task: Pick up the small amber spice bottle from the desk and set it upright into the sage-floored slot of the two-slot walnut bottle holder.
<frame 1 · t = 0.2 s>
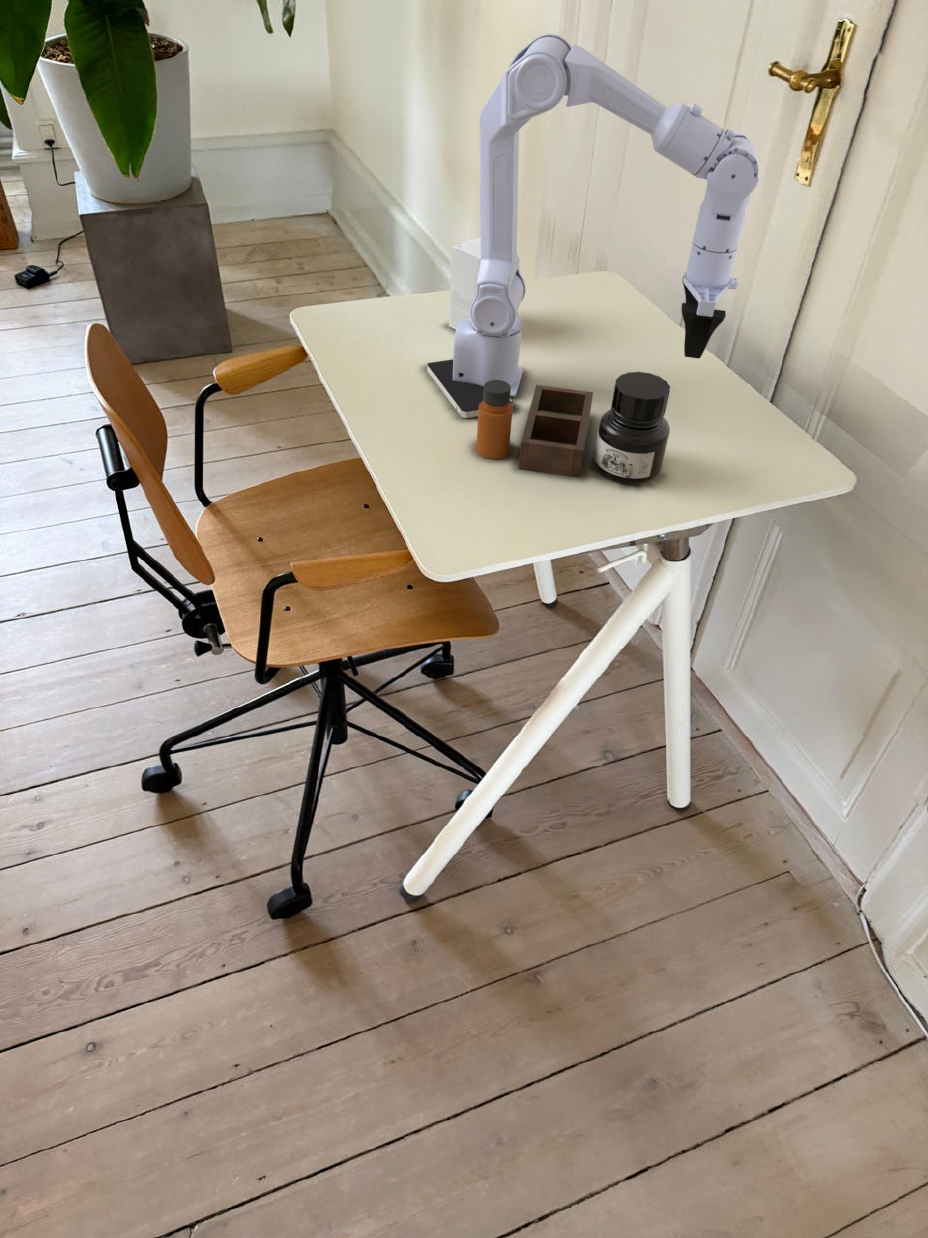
hand: (692, 343, 127), 10 cm above the table, tool pointing down, fingers open, 7 cm apart
holder: (555, 442, 126), on the table
small box: (479, 327, 150), on the table
smartphone: (468, 390, 136), on the table, touching arm
spice bottle: (492, 449, 124), on the table
ink bottle: (626, 467, 123), on the table
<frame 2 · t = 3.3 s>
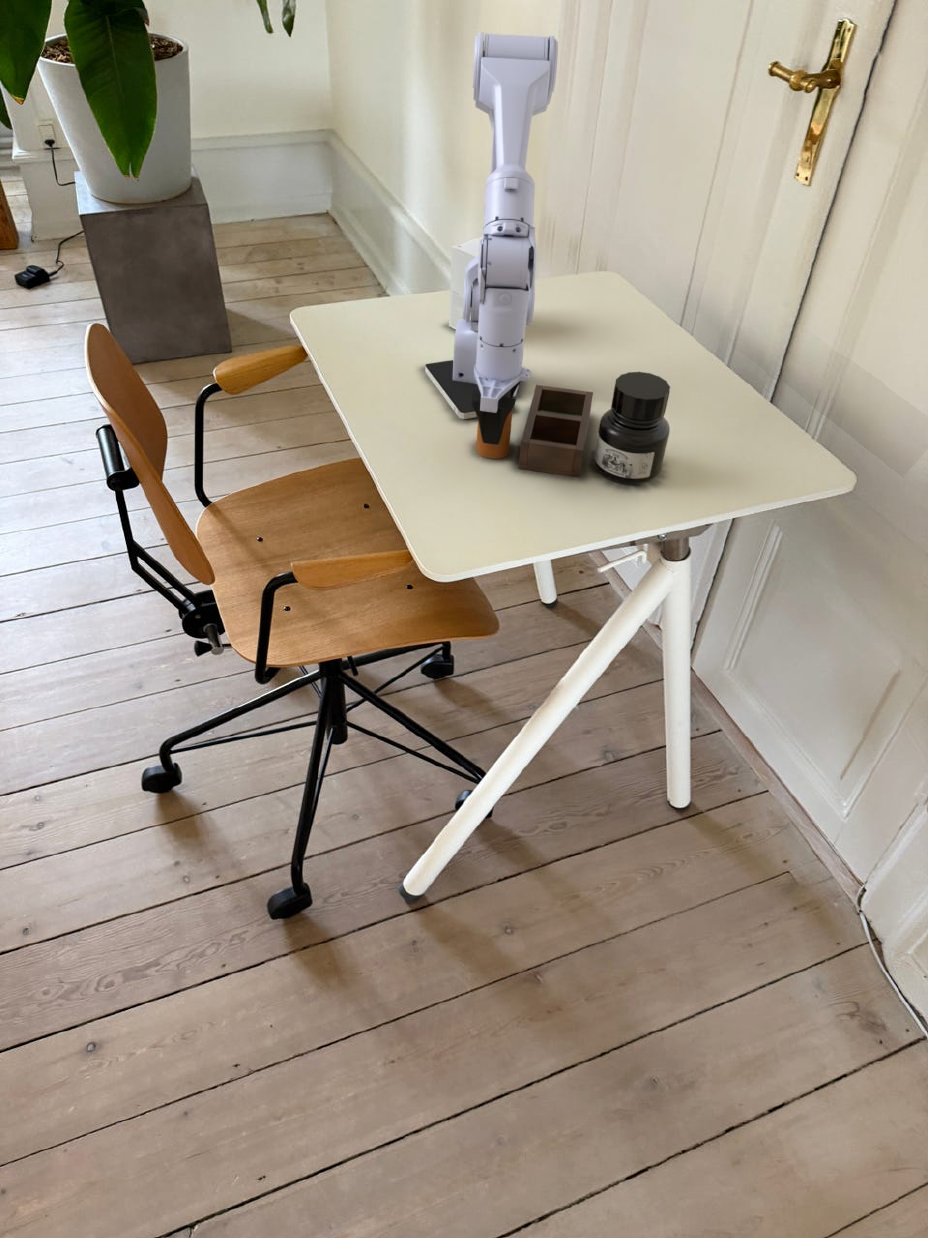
hand: (493, 432, 122), 3 cm above the table, tool pointing down, fingers closed on spice bottle, 4 cm apart
spice bottle: (492, 449, 124), on the table, touching gripper
everything else where it was.
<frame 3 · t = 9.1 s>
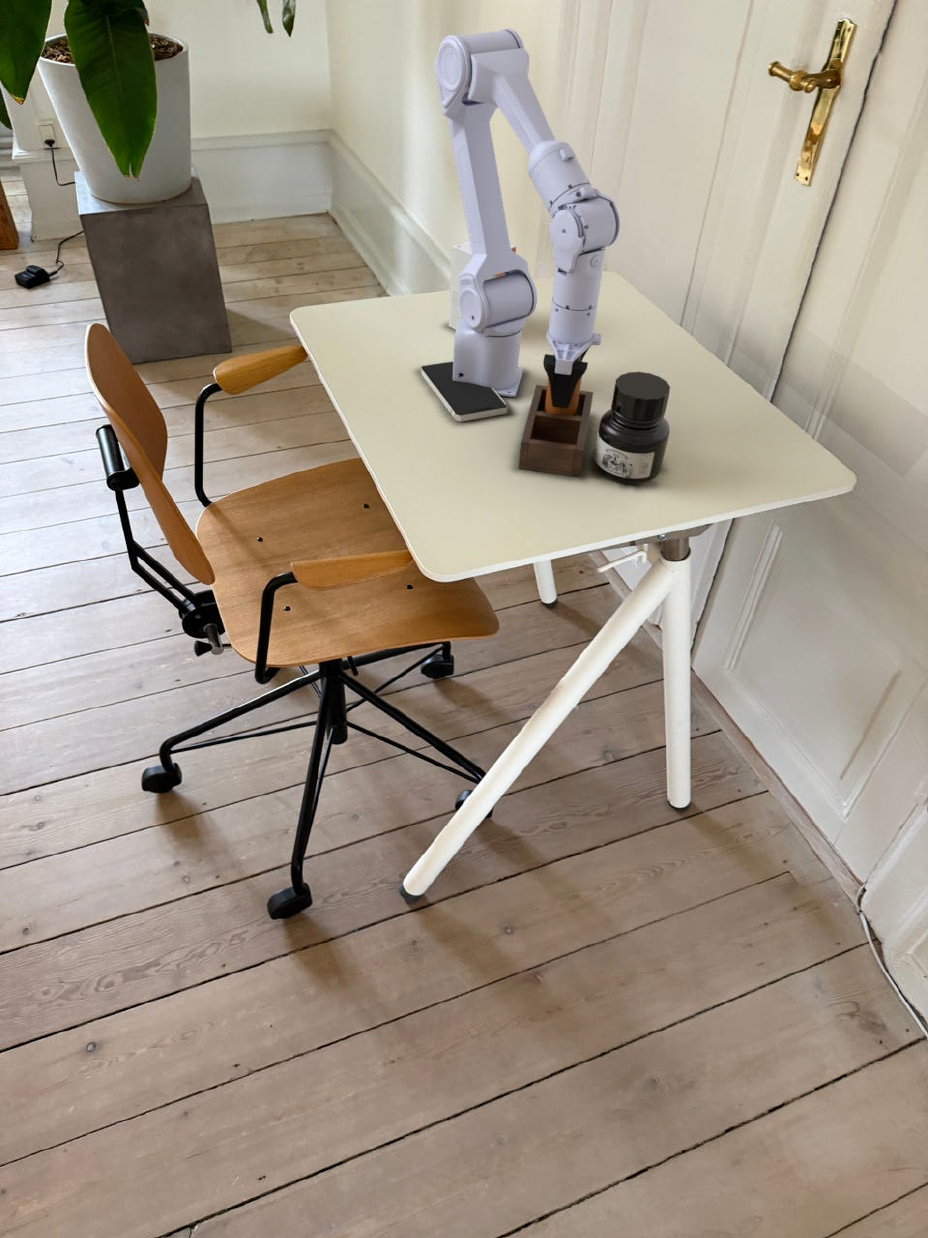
hand: (562, 397, 125), 5 cm above the table, tool pointing down, fingers closed on spice bottle, 4 cm apart
spice bottle: (560, 414, 127), point 2 cm above the table, touching gripper
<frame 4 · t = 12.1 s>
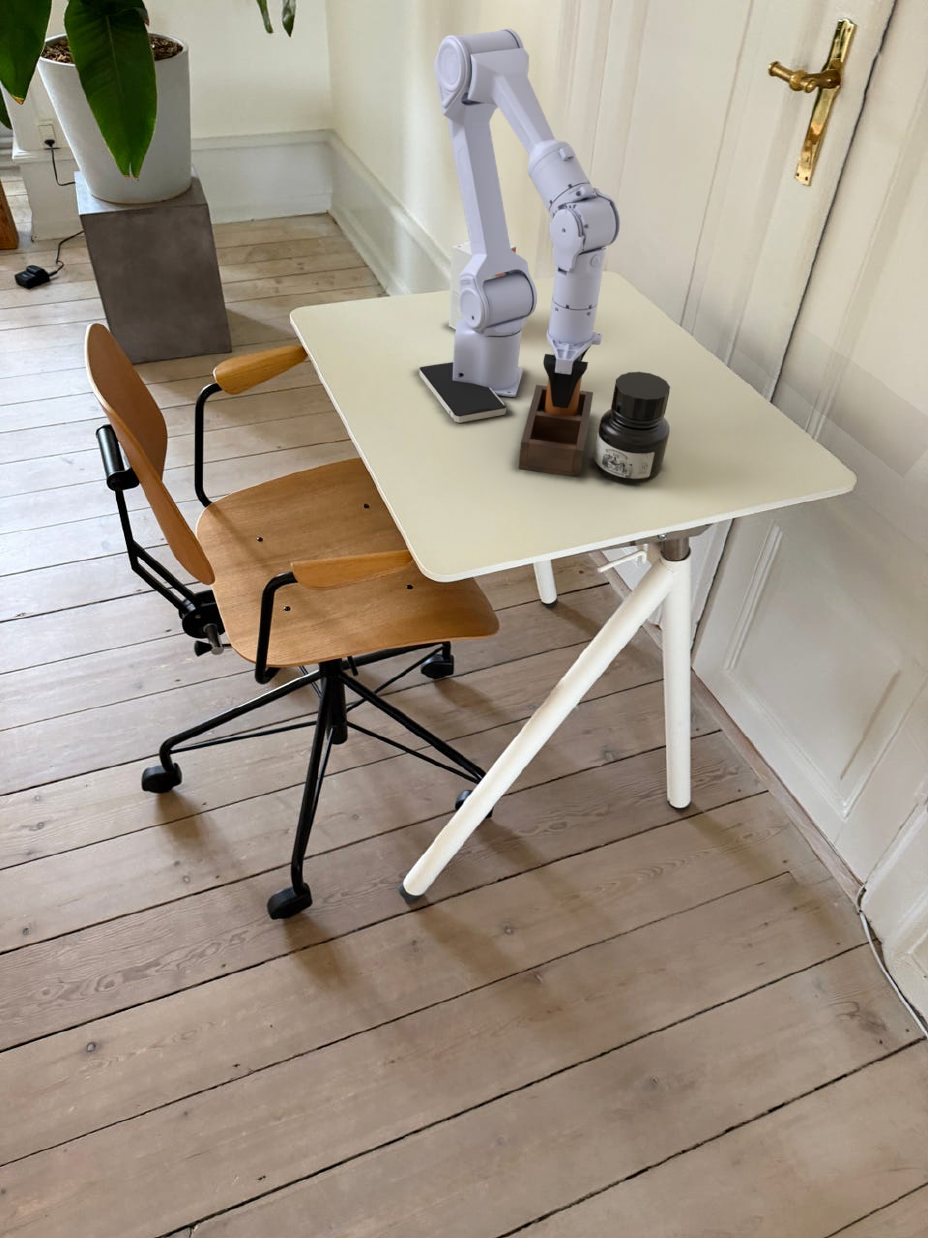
hand: (562, 396, 125), 5 cm above the table, tool pointing down, fingers closed on spice bottle, 4 cm apart
spice bottle: (560, 414, 127), point 2 cm above the table, touching gripper
when the fingers open (5 cm above the table, at t = 14.9 s): spice bottle drops 1 cm, resting on holder.
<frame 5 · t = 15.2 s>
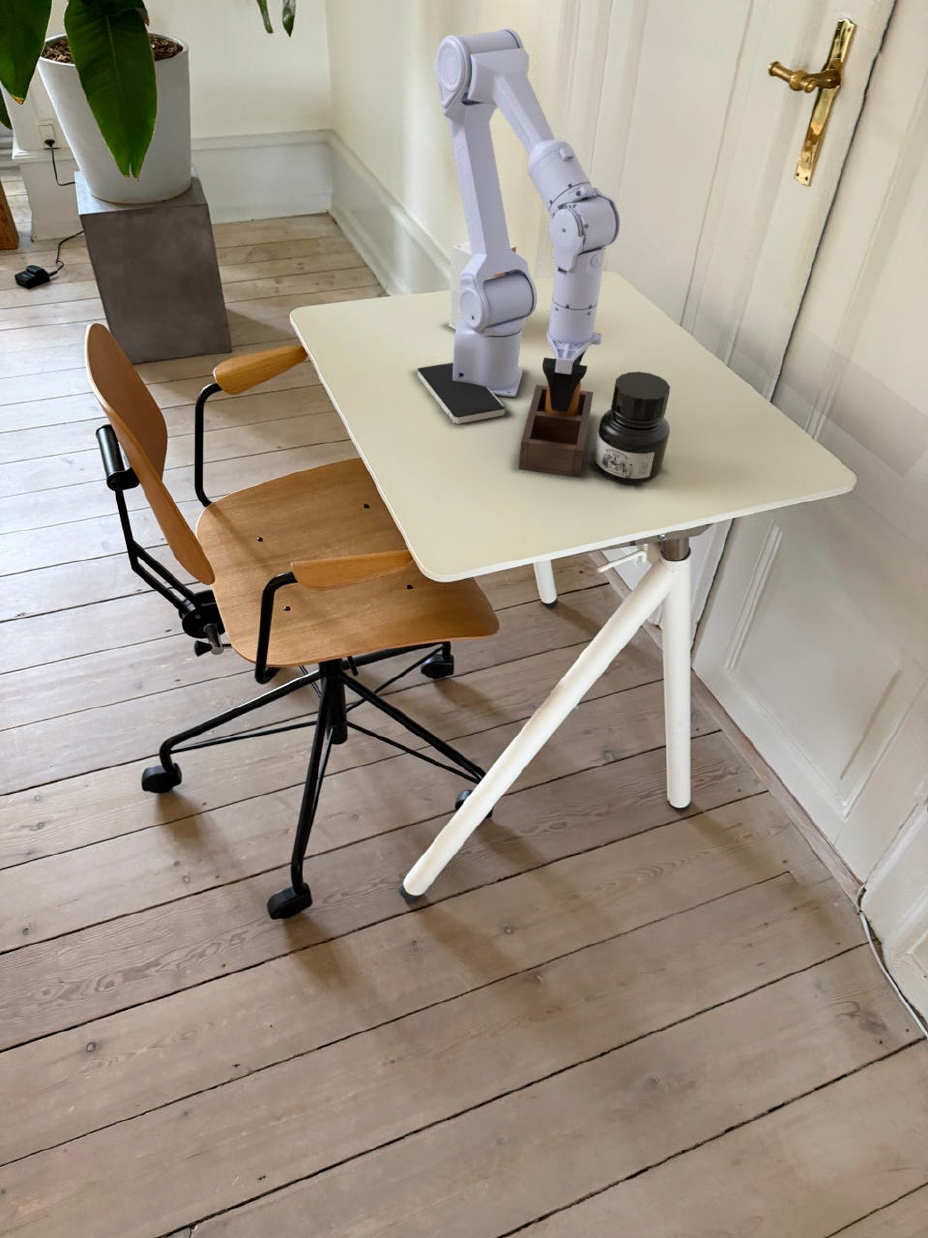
hand: (562, 396, 125), 5 cm above the table, tool pointing down, fingers open, 6 cm apart
spice bottle: (559, 423, 128), point 1 cm above the table, touching holder
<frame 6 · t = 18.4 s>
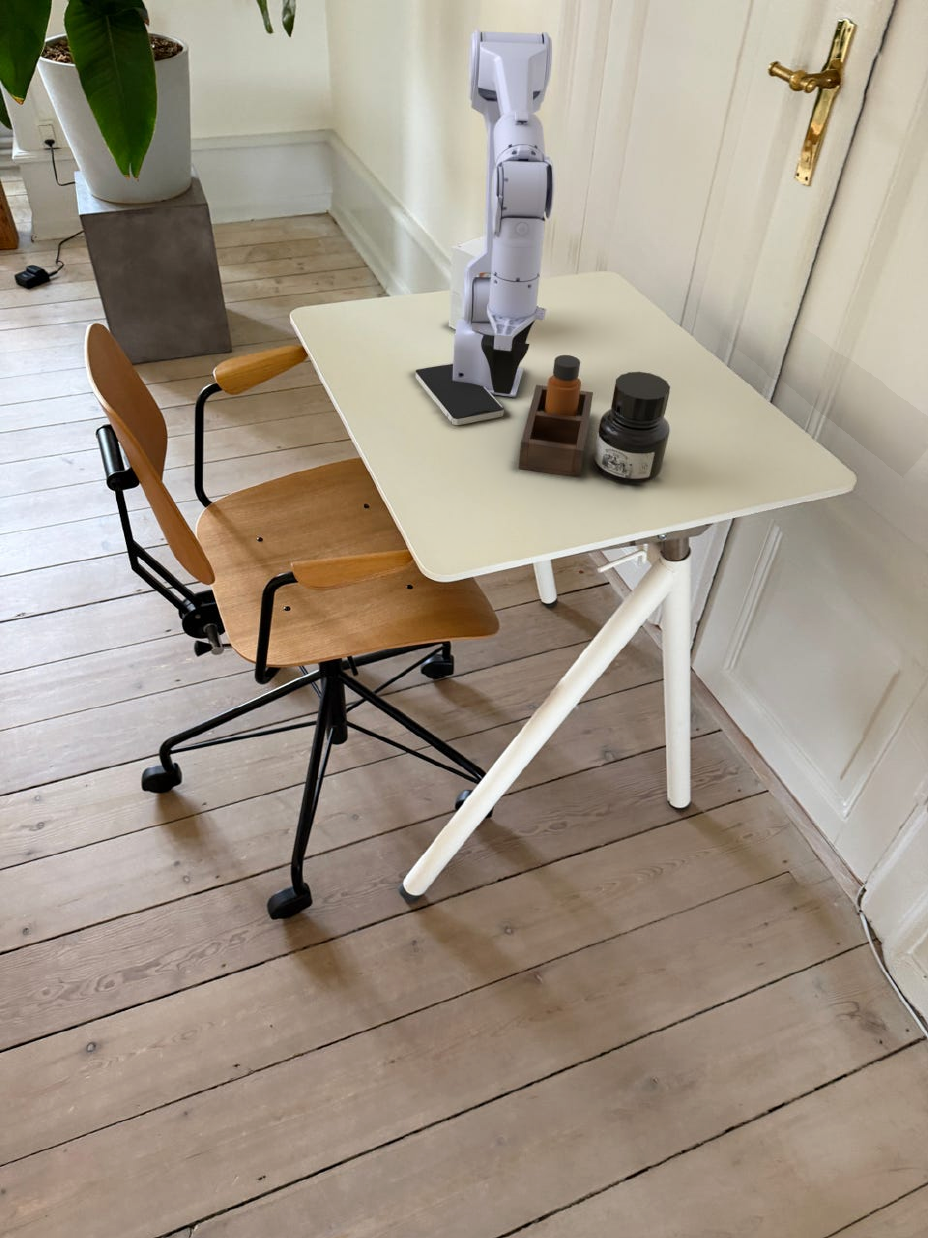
hand: (506, 376, 118), 10 cm above the table, tool pointing down, fingers open, 7 cm apart
at the end: spice bottle 0.0 cm from the target spot in the holder, point 0.8 cm above the holder's base; spice bottle tilted 0° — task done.
